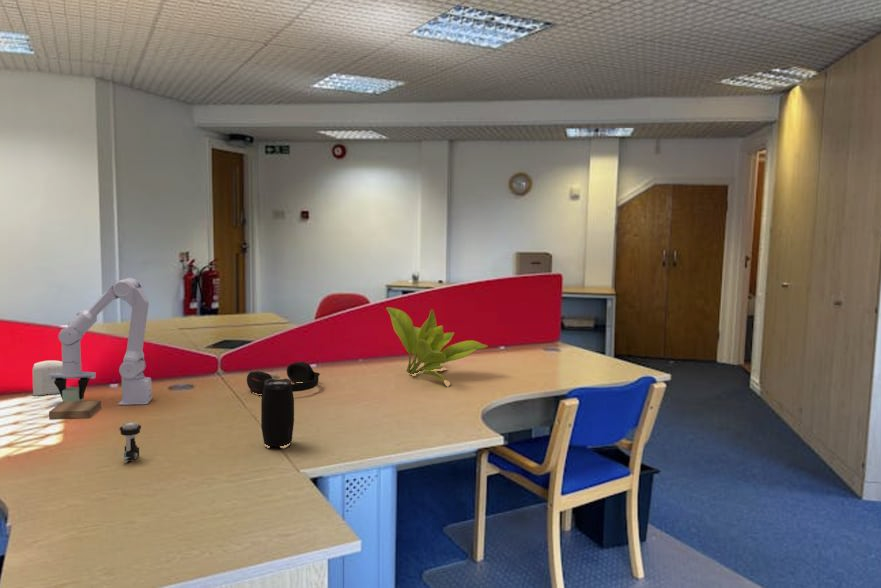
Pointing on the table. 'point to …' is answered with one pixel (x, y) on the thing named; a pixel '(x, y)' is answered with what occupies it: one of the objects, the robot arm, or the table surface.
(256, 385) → the headset
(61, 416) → the walnut riser block
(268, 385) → the portable speaker
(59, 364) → the photo printer
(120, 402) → the robot arm
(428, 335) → the artificial plant
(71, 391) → the sage wooden cube
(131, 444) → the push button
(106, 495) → the table surface
